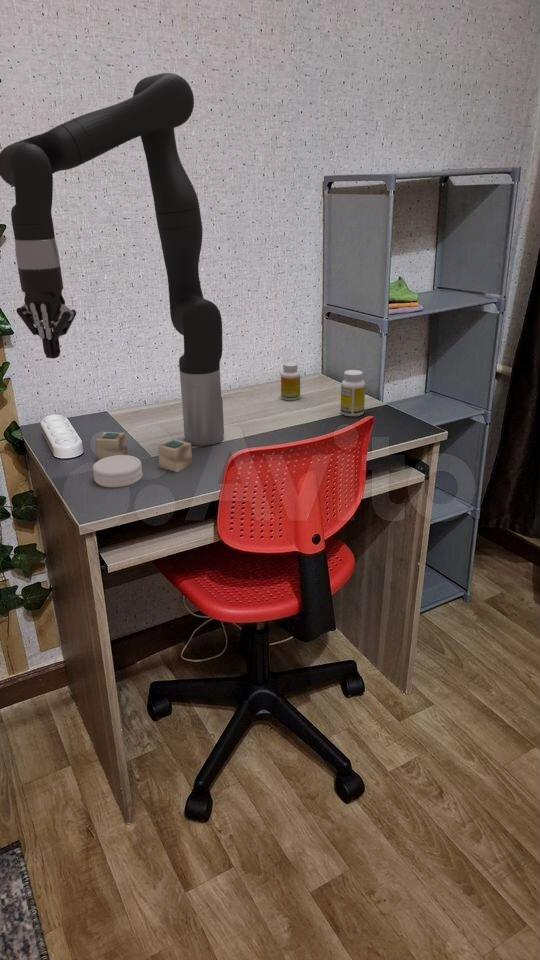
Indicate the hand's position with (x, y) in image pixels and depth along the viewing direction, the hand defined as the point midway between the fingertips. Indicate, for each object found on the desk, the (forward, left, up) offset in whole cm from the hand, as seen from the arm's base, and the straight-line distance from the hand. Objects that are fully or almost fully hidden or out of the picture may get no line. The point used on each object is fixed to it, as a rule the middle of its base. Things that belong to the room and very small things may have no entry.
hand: (52, 357), depth 131 cm
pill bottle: (-61, +42, -26) cm, 79 cm away
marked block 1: (-13, +1, -26) cm, 29 cm away
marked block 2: (-14, +17, -26) cm, 34 cm away
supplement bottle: (-67, +22, -26) cm, 75 cm away
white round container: (-4, +9, -26) cm, 28 cm away
